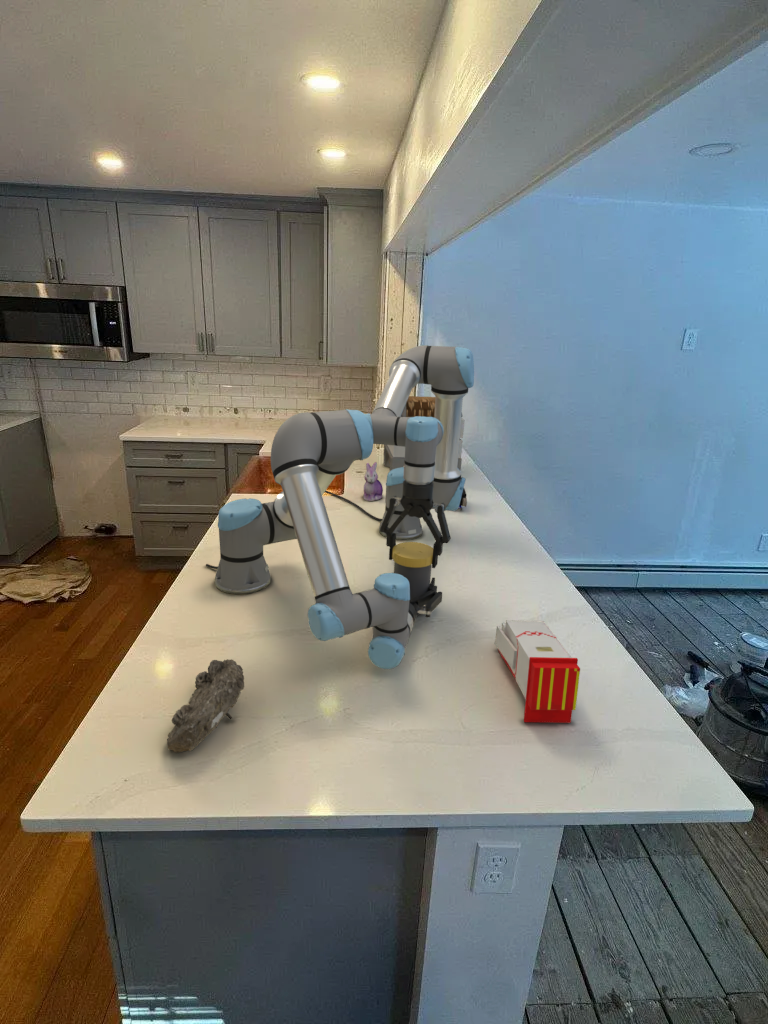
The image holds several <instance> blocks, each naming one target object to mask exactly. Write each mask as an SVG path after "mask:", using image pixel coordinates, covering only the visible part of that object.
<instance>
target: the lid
mask: <svg viewBox="0 0 768 1024" xmlns="http://www.w3.org/2000/svg"><path fill="white" fill-rule="evenodd" d="M392 558H393V559H392V561H393V562H394V561H395V562H396V563H397V564H400V565H402V566H406V567H414V568H419V567H426V566H429V565H431V564H432V559H433V546H431V545H430V544H427V543H422V542H417V541H403V542H399V543H397V544H396V545H395V546H394V547H393V551H392Z"/></svg>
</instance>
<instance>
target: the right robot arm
mask: <svg viewBox="0 0 768 1024" xmlns="http://www.w3.org/2000/svg"><path fill="white" fill-rule="evenodd" d="M474 383H475V361H474V354H473V352H472V350H471V349H469V348H467V347H460V346H448V345H447V346H445V345H428V344H426V345H423V344H422V345H417V346H413V347H411V348H409V349H407V350H406V351H404V352H402V353H401V354H399V356H397V357H396V358H395V359H394V361H392V363H391V364H390V367H389V370H388V378H387V382H386V383H385V385H384V387H383V390H382V392H381V393H380V395H379V398H378V400H377V402H376V404H375V406H374V408H373V410H372V412H371V413H364V414H365V416H366V417H367V419H368V421H369V423H370V425H371V429H372V433H373V445H381V446H382V445H383V446H384V445H395V446H403V447H405V461H404V467H401V468H396V469H393V470H391V471H390V470H389V472H388V473H387V475H386V482H385V504H384V505H385V507H384V508H385V509H384V513H383V515H382V518H379V517H376V516H375V515H372V514H371V513H369V512H367V511H366V510H365V509H364V508H362V507H361V506H360V505H358V504H356V503H355V502H353V501H351V500H349V499H348V498H346V497H343V496H341V495H339V494H337V493H336V494H335V493H334V492H331V491H329V490H326V491H325V492H324V494H325V493H326V494H329V495H331V496H333V497H336V498H339V499H341V500H343V501H345V502H347V503H349V504H351V505H352V506H354V507H356V508H357V509H359V510H360V511H361V512H362V513H364V514H365V515H367V516H368V517H370V518H372V519H373V520H376V521H378V522H379V526H378V533H379V534H380V535H381V536H382V537H385V538H386V540H385V541H386V542H385V545H386V547H388V548H389V551H388V560H389V561H393V558H392V551H393V547H394V546H395V545H397V544H396V543H397V541H410V540H415V539H418V538H420V537H421V536H422V535H423V525H422V524H421V519H422V520H423V521H424V522H425V524H426V525H427V528H428V530H429V531H430V533H431V536H432V537H433V539H434V541H435V542H434V543H433V545H432V548H433V559H432V567H431V569H436V567H437V565H438V561H439V557H441V555H442V553H443V547H444V544H449V542H450V541H451V539H452V537H451V532H450V529H449V526H448V522H447V517H446V514H445V511H448V512H449V511H451V512H455V511H457V510H458V509H460V507H459V505H460V501H461V497H462V493H463V488H464V489H465V484H466V478H465V477H463V476H462V470H461V471H460V470H459V469H458V468H457V465H458V452H459V439H461V438H460V426H461V418H462V417H461V414H462V415H463V400H464V397H466V396H467V394H469V389H471V388H473V387H474ZM417 385H430V392H431V393H432V394H433V395H434V397H435V415H434V417H424V416H416V417H411V418H407V417H400V416H401V414H402V412H403V409H404V407H405V405H406V402H407V400H408V397H409V396H411V392H412V390H413V389H414V388H415V387H416V386H417ZM431 510H434V512H435V513H436V517H437V521H438V525H439V527H438V525H437V523H436V521H435V520H434V518H433V514H432V513H431Z"/></svg>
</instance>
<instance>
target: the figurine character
mask: <svg viewBox="0 0 768 1024" xmlns="http://www.w3.org/2000/svg"><path fill="white" fill-rule="evenodd" d="M467 503H468V498H467V492H466V489H465V487H464V488H463V493H462V497H461V501H460V505H459V509H460V511H463V507H464V508H465V507H467Z"/></svg>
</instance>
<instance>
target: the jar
mask: <svg viewBox="0 0 768 1024" xmlns="http://www.w3.org/2000/svg"><path fill="white" fill-rule="evenodd" d="M393 573H396V574H400V575H402V576H404V577H405V578H407V579H408V581H409V584H410V599H412V598H414V597H419V596H421V595H423V594H425V593H426V592H428V591H429V586H430V583H431V580H432V564H431V565H429V566H426V567H419V568H414V567H406V566H402V565H400V564H397V563H396V562H395V561H394V560H393ZM423 607H424V606H422V607H421V608H423ZM421 615H422V614H419V615H418V616H421Z"/></svg>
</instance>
